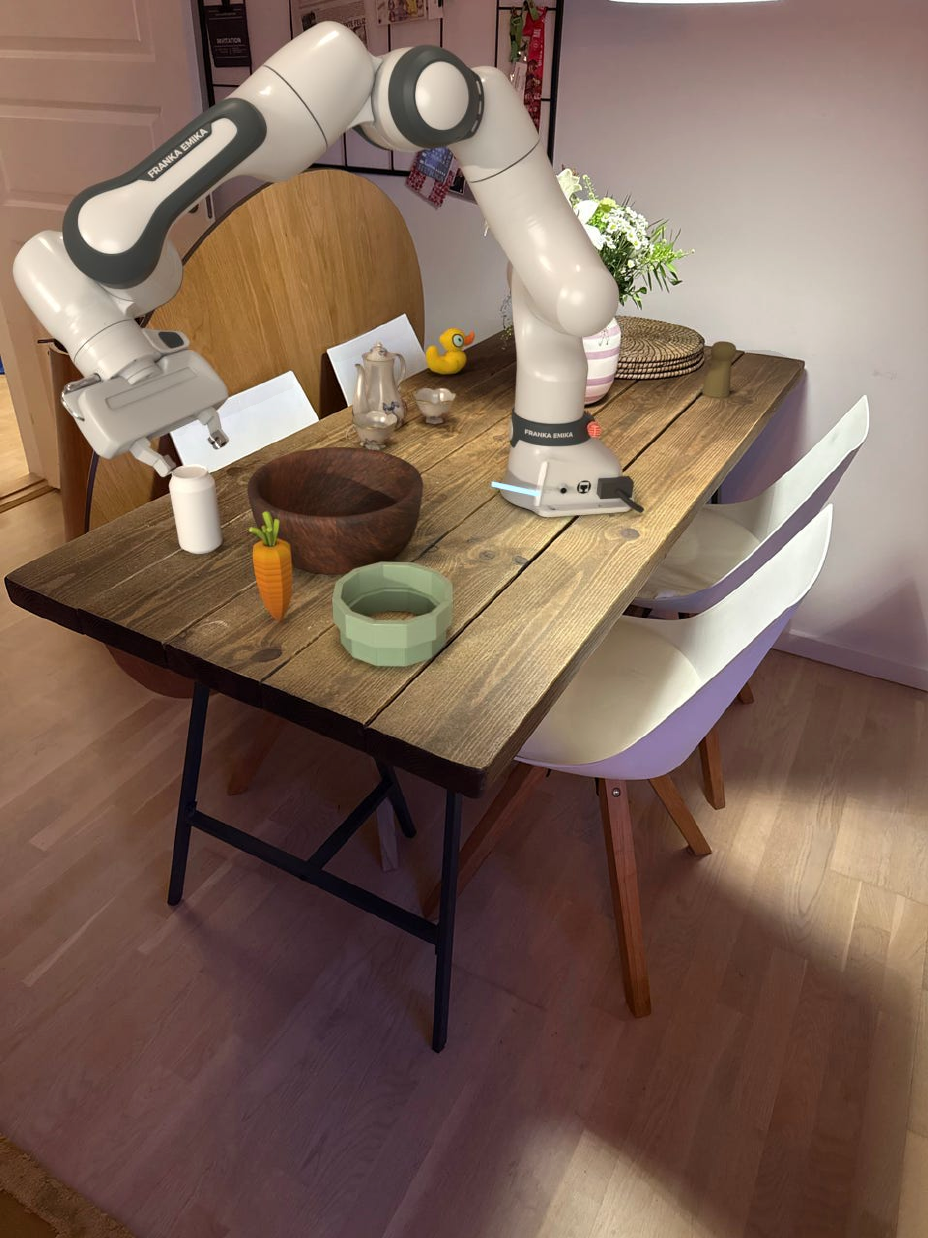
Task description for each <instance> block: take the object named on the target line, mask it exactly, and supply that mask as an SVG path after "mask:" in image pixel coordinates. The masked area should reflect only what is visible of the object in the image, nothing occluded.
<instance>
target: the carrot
mask: <svg viewBox="0 0 928 1238" xmlns="http://www.w3.org/2000/svg"><path fill="white" fill-rule="evenodd" d="M262 514H263V517H264V520H265V523H266V525H267V526H262V530H263V531H262V532H261V531H260V530H259V529H258V528H257V527H249V529H248V531H249V533H252V534H255V535H256V536H258V537H259V538H260V539H261V540H260V541H258V542H255V543H254V544H253V546H252V562H253V570H254V574H255V581H256V586H257V588H258V591H259V595H260V597H261V600H262V602H263V605H264V607H265V608H266V610H267V611H268V613H269V614H270V616H272V617H273V619H274V620H276V621H278V622H280V621H281V620H283V619H284V617H285V616H286V614H287V611H288V610H289V606H290V603H291V598H292V593H293V591H292V590H293V567H292V561H291V548H290V545H289V543H288V542H286V541H284V540H281V539H278V538H277V535H278V531H279V524H280V521H279V520H278V519H275V521H274V523H273V520H272V517H271V514H270V512H267V511H265V512H264V513H262Z"/></svg>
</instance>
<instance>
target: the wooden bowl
mask: <svg viewBox="0 0 928 1238" xmlns="http://www.w3.org/2000/svg"><path fill="white" fill-rule="evenodd" d="M246 491H247V492H246V493H247V497H248V502H249V506H250V509H251V513H252V516H253V519H254V523H255V526H256V529H259V530H260V531H261V532H262V531H263V530H262V526H267V525H266V523H265V520H264V517H263V514H262V513H264V512H265V511H267V512H270V514H271V517H272V520H273V523H274V521H275V519H278V520H279V521H280V524H279V531H278V535H277V538H278V539H281V540H284V541H286V542H288V543H289V545H290V548H291V561H292V568H294V569H296V570H300V571H303V572H306V573H307V572H308V573H312V574H313V573H314V574H317V575H333V576H334V575H335V576H337V575H338V576H339V575H346V574H348V573H349V572H350V571H352V570H353V569H355V568H359V567H363V566H366V565H370V564H374V563H378V562H392V561H393V560H394V559H396V558H397V557H398V556H400V554H402V552H403V551H404V550H405V549H406V547H407V546H408V545H409V544H410V541H411V539H412V537H413V536H414V533H415V531H416V528H417V526H418V522H419V519H420V513H421V507H422V501H423V494H424V481H423V477H422V475H421V473H420V471H419V470H418V469H417V468H416V467H415V466H414V465H413V464H411V463H410V462H409V461H407V460H405V459H403V458H401V457H400V456H396V455H393V454H391V453H388V452H384V451H381V450H372V449H368V448H362V447H353V446H351V447H350V446H329V447H317V448H311V449H304V450H299V451H295V452H291V453H287V454H285V455H282V456H278V457H276V458H274V459H271V460H270V461H268V462H266V463H264V464H263V465H261V466H260V467H259V468H258V469H256V470H255V471H254V472H253V473H252V474H251V476H250V478H249V480H248V481H247V488H246Z"/></svg>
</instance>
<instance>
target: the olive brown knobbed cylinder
mask: <svg viewBox="0 0 928 1238" xmlns="http://www.w3.org/2000/svg"><path fill="white" fill-rule="evenodd" d="M736 354H737V346H736V345H735V344H734V343H733V342H730V341H721V340H720V341H716V342H714V343H713V344H712V346H711V348H710V355H711V357H712V358H711V361H710V364H709V367H708V370H707V373H706V377H705V379H704V383H703V386H702V389H701V393H702V395H705V396H707V397H711V398H727V397H729V396H730V391H731V376H732V375H731V374H732V362H733V359H734V358H735V356H736Z"/></svg>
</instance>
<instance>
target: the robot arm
mask: <svg viewBox="0 0 928 1238" xmlns="http://www.w3.org/2000/svg"><path fill="white" fill-rule="evenodd" d="M351 129H352V130H353V131H354V132H355V133H357V134H358V136H360V137H361V138H362V139H363V140H365V141H366V142H367V143H368V144H370V145H372V146H373V147H375V148H377V149H379V150H382V151H387V152H398V153H399V152H400V153H415V152H416V153H417V152H421V151H423V150H428V149H429V150H432V149H433V150H434V149H436V150H437V149H442V148H444V147H447V148H448V149H449V151H450V152H451V154H452V155H453V156H454V157H455V159H456V160H457V163H458V165H459V168H460V170H461V172H462V175H463V176H464V178H465V179H464V180H465V181H466V182H467V185H468V187H469V189H470V191H471V193H472V195H473V197H474V200H475V201H476V203H477V206H478V208H479V209H480V212H481V214H482V216H483V218H484V220H485V222H486V224H487V226H488V228H489V230H490V233H491V234H492V236H493V237H494V239H495V240H496V242H497V243H498V244H499V246H500V247H501V249H502V251H503V252H504V253H505V255H506V257H507V258H508V261H507V265H506V280H507V284H508V288H509V291H510V297H511V298H510V300H511V309H512V310H511V312H512V321H513V322H512V323H513V332H514V339H515V350H516V377H515V395H514V406H513V407H512V409H511V415H510V419H509V432H508V433H509V444H510V448H509V453H508V459H507V463H506V468H505V472H504V473H503V474H504V475H503V478H502V481H501V482H496V481H491V487H493V488H497V489H499V493H500V495H501V496H502V497H503V498H504V499H505V500H506V501H508V502H510V503H511V504H513V505H516V506H518V507H521V508H524V509H527V510H530V511H532V513H534V514H537V516H540V517H542V518H557V517H571V516H586V515H598V514H599V515H600V514H615V513H626V512H629V511H631V510H634V511H636V512H637V513H639V514H642V513H643V512H644V511H645V508H644V507H642V505H640V504H638V503H636V502H635V491H634V485H635V481H634V480H633V479H632V477H631V476H630V475H624V474H623V473H624V472H623V468H622V467H623V466H622V464H621V461H620V459H619V457H618V455H617V454H616V453H615V451H613V449H612V448H610V447H609V446H608V445H606V444H605V443H604V442H603V441H602V440H600V438H598V437H599V436H600V435H601V433H602V428H601V426H600V423H598V422H597V421H596V418H595V417H594V416H593V415H592V413H591V412H590V411H589V410H588V409H587V410H585V402H586V395H587V394H586V393H587V385H588V376H589V375H588V373H589V362H588V357H587V355H586V351H585V347H584V346H585V345H584V340H583V339H584V338H589V337H593V336H595V335H597V334H599V333H601V332H602V331H603V330H605V329H606V328H607V327H608V326H609V325H610V323H611V322H612V321H613V319H614V318H615V316H616V314H617V312H618V308H619V303H620V291H619V286H618V283H617V281H616V279H615V278H614V277H613V275H612V274H611V272H610V270H609V269H608V268H607V266H606V265H605V263H604V261H603V259H602V258H601V256H600V254H599V252H598V251H597V249H596V247H595V244H594V243H593V241H592V239H591V238H590V235H589V234H588V232H587V231H586V228H585V227H584V225H583V223H582V222H581V219H579V217H578V216H577V215H578V214H576V212H575V210H574V209H573V207H572V206H571V204H570V202H569V201H568V199H567V197H566V194H565V192H564V191H563V188H562V187H561V184H560V182H559V179H558V177H557V175H556V173H555V170H554V168H553V166H552V163H551V160H550V158H549V156H548V153H547V151H546V149H545V147H544V144H543V142H542V140H541V137H540V135H539V132H538V129H537V127H536V126H535V123H534V122H533V119H532V117H531V115H530V113H529V111H528V109H527V107H526V106H525V104H524V102H523V101H522V99H521V97H520V95H519V94H518V92H517V91H516V89H515V87H514V86H513V84H512V83H511V81H510V80H509V78H508V77H507V75H506V74H505V73H504V72H503V71H502V70H501V69H499V68H497V67H495V66H492V65H480V66H474V67H472V68H470V67H469V66H467V64H465V62H464V61H463V60H462V59H461V58H459V56H457V55H456V54H454V52H451V51H450V50H448V49H447V48H444V47H441V46H438V45H434V44H421V45H416V46H406V47H402V48H401V47H400V48H397V49H393V50H391V51H389V52H388V53H384V54H381V55H378V56H375V55H373V54H372V53H371V52H370V51H369V50H368V49H367V47H366V46H365V44H364V43H363V41H362V40H361V38H360V37H358V35H356V33H355V32H354V31H353V30H352V29H350V28H349V27H347V26H346V25H344V24H342V23H340V22H337V21H333V20H325V21H321V22H319V23H317V24H315V25H313V26H312V27H310V28H308V29H306V30H305V31H303V32H302V33H301V34H299V35H296V37H293V38H292V40H290V41H289V42H288V43H286V44H285V45H284V46H282V47H281V48H279V50H277V51H276V52H275V53H273V54H272V55H271V56H270V57H269V58H268V59H267V60H265V62H263V64H261V65H260V66H259V67H258V68H256V70H255V71H254V72H253V73H252V74H251V75H250V76H249V77H248V78H247V79H246V80H245V81H244V82H242V83H241V84H240V85H239V86H238V87H237V88H236V89H235V90H234V91H233V92H231V93H230V94H229V95H228V96H226V97H225V98H224V99H222V100H220V101H218V102H216V103H215V104H214V105H212V106H211V107H209V108H207V109H206V110H204V111H203V112H202V113H201V114H199V115H197V116H196V117H195V118H193V119H192V120H191V121H190V122H188V123H187V124H186V125H185V126H184V127H182V128H181V129H180V130H179V131H177V132H176V133H174V135H172V136H171V137H170V138H169V139H167V140H166V141H165V142H164V143H162V144H161V145H160V146H159V147H158V148H156V149H155V150H154V151H153V152H151V153H150V154H149V155H148V156H147V157H145V158H144V159H143V160H141V161H140V162H138V164H136V165H135V166H134V167H132V168H131V169H129V170H128V171H126V172H124V173H123V174H120V175H118V176H116V177H112V178H110V179H108V180H104V181H100V182H98V183H95V184H93V185H91V186H89V187H87V188H85V189H83V190H81V191H80V192H79V193H77V195H75V197H74V198H73V199H72V200H71V201H70V203H69V204H68V205H67V208H66V210H65V212H64V215H63V219H62V225H61V226H62V227H61V231H56V230H53V229H47V230H43V231H39V232H38V233H36V234H34V235H33V236H31V237H30V238H29V239H27V240H26V241H25V242H24V243H23V244H22V246H21V247H20V248H19V250H18V252H17V253H16V254H15V258H14V261H13V264H12V277H13V280H14V283H15V286H16V287H17V289H18V292H19V293H20V294H21V297H22V298H23V299H24V301H25V303H26V304H27V306H28V307H29V310H31V311H32V313H33V315H34V316H35V317H36V318H37V319H38V321H39V322H40V324H42V326H43V328H45V329H44V330H46V331H47V332H48V333H49V335H50V336H51V337H52V338H54V339H55V340H57V341H58V342H59V343H60V344H61V345H63V347H64V349H66V352H67V353H68V355H69V357H70V360H71V362H72V363H73V365H74V366H75V368H76V369H77V370H78V371H79V372H80V374H81V375H82V376H83V378H81V379H78V380H77V381H71V382H68V383H66V384H64V386H63V390H61V393H60V402H61V404H62V405H63V407H64V408H65V409H66V410H67V412H68V413H69V414H70V415H71V417H73V419H74V421H75V422H76V425H77V426H78V428H79V430H80V431H81V433H82V434H83V437H84V438H85V439H86V440H87V442H88V444H89V445H90V446H91V448H92V449H93V450H94V452H95V453H96V454H97V455H98V456H100V457H102V458H104V459H106V460H109V461H110V460H113V459H115V458H117V457H120V456H122V455H124V454H126V453H129V452H130V453H131V454H132V456H133V457H134V458H135V459H136V460H138V461H140V462H142V463H143V464H146V465H148V466H150V467H153V469H154V470H155V471H156V472H157V473H158V475H159V476H160V477H161V478H165V477H167V476H168V475H170V474H172V472H173V471H174V470H175V469H176V468H177V463H176V462H175V461H173V459H172V457H171V456H170V455H169V454H166V455H162V454H160V453H158V451H155V450H153V449H152V448H151V445H152V443H151V442H152V441H155V440H157V439H159V438H161V437H163V436H166V435H168V434H170V433H172V432H174V431H176V430H178V429H181V428H183V427H185V426H187V425H189V424H192V423H194V422H195V421H199V422H200V424H201V425H202V426H203V427H204V426H207V429H208V432H209V433H208V434H209V437H208V438H207V439H206V440H207V442H208V443H209V444H210V445H211V447H212V448H213V449H214V450H219V449H221V448H223V447H226V445H227V444H228V443H229V442H230V439H229V436H228V435H227V433H225V432H224V430H223V428H222V423H221V418H220V417H221V416H220V414H219V412H218V410H220V409H221V408H222V406H223V405H224V404H225V403H226V402H227V401H228V399H229V390H228V387H227V385H226V383H225V382H224V380H223V379H222V378H221V377H220V376H219V374H218V373H217V371H216V370H215V369H214V368H213V367H212V365H211V364H210V363H209V362H208V360H206V359H205V358H204V357H203V356H202V355H201V354H200V353H199V352H197V351H195V350H193V349H188V348H189V347H190V345H191V341H190V340H189V338H188V336H187V335H186V333H184V332H182V331H180V330H167V329H165V330H164V329H155V328H149V327H141V326H140V325H139V324H138V322H137V321H136V319H138V318H141V317H144V316H145V315H147V314H149V313H151V312H153V311H155V310H157V309H159V308H161V307H162V306H165V305H166V304H168V303H169V302H170V301H172V299H174V298H175V297H176V295H177V294H178V293H179V291H180V289H181V287H182V284H183V280H184V263H183V261H182V260H183V259H182V257H181V255H180V252H179V251H178V250H177V248H176V246H175V244H174V242H173V241H172V240H171V238H170V237H169V236H170V232H171V230H172V229H173V227H174V225H175V224H176V223H177V222H178V221H179V220H180V219H182V218H183V217H184V216H185V215H187V213H189V212H190V211H191V210H192V209H194V208H195V207H196V206H197V205H198V204H199V203H201V202H202V201H203V200H204V199H205V198H206V197H208V196H209V195H210V194H211V193H212V192H214V191H215V190H216V189H217V188H218V187H219V186H221V185H222V184H223V183H226V182H227V181H229V180H230V179H233V178H236V177H240V176H241V177H242V176H248V177H249V176H250V177H253V178H255V179H258V180H261V181H264V182H267V183H274V184H275V183H278V184H280V183H286V182H288V181H289V180H291V179H293V178H295V177H296V176H298V175H299V174H301V173H302V172H304V171H305V170H307V169H308V168H309V167H311V166H312V165H313V164H314V163H315V162H316V161H317V160H319V158H320V157H322V156H323V155H324V154H325V153H326V152H327V150H329V149H330V148H331V146H333V144H335V143H336V142H337V140H338V139H339V138H340V137H341V136H342V135H343V134H345V133H346V132H348V131H349V130H351Z"/></svg>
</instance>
